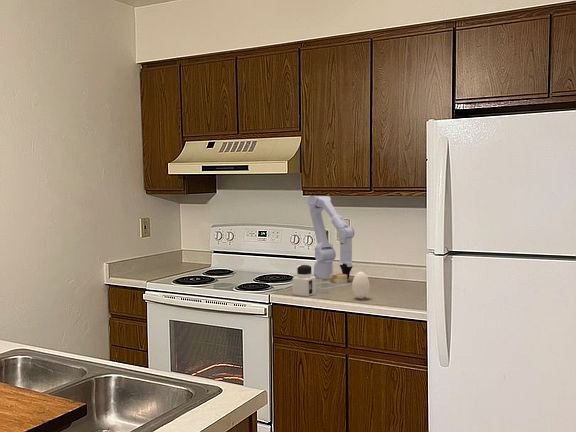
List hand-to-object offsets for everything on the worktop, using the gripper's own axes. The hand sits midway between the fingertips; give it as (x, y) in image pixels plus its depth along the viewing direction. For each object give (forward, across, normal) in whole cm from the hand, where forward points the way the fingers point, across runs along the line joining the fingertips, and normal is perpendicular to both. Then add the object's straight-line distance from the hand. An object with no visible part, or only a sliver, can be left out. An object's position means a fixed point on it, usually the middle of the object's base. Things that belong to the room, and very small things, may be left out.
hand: (346, 279), depth 297 cm
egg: (+2, +36, -2) cm, 36 cm away
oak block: (+1, +3, -4) cm, 5 cm away
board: (+2, +6, -9) cm, 11 cm away
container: (+2, +22, -25) cm, 33 cm away
